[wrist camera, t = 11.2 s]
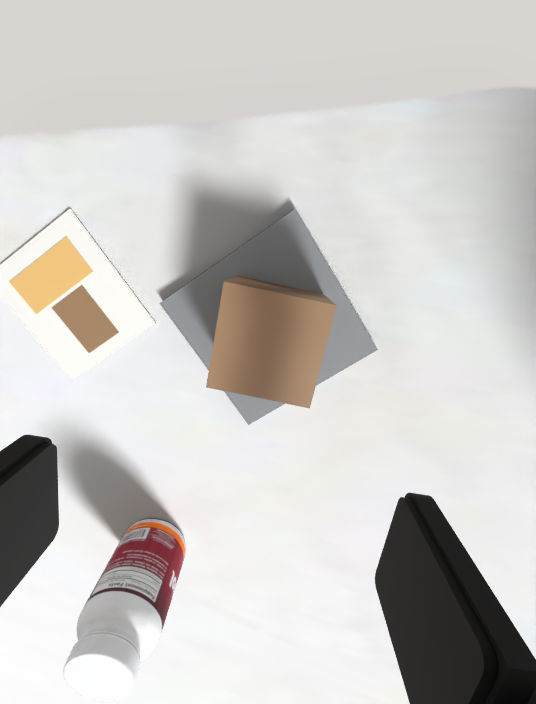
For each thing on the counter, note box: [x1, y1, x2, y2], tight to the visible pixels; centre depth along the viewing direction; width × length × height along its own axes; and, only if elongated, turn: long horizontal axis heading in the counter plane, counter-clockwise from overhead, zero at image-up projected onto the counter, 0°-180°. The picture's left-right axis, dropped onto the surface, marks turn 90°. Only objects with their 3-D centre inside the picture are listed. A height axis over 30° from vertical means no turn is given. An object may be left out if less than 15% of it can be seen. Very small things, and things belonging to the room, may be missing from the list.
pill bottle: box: [63, 519, 186, 702], centre depth 27 cm, size 6×6×11 cm
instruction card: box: [0, 209, 156, 381], centre depth 26 cm, size 10×9×1 cm
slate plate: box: [160, 209, 378, 425], centre depth 26 cm, size 12×12×1 cm
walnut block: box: [206, 276, 337, 408], centre depth 23 cm, size 6×6×6 cm
